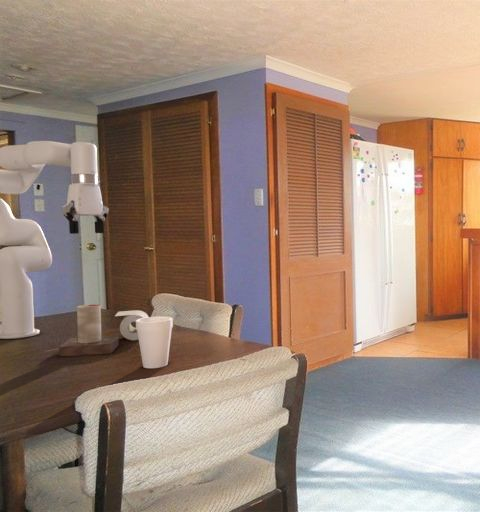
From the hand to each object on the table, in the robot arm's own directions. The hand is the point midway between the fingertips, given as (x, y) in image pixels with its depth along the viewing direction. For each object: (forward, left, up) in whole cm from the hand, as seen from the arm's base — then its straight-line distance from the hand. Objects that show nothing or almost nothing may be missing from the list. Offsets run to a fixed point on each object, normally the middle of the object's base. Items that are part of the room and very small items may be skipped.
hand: (87, 233), depth 173 cm
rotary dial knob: (+2, -11, -33) cm, 35 cm away
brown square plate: (+2, -11, -37) cm, 38 cm away
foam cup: (+24, -35, -37) cm, 57 cm away
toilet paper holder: (+14, +6, -37) cm, 40 cm away
